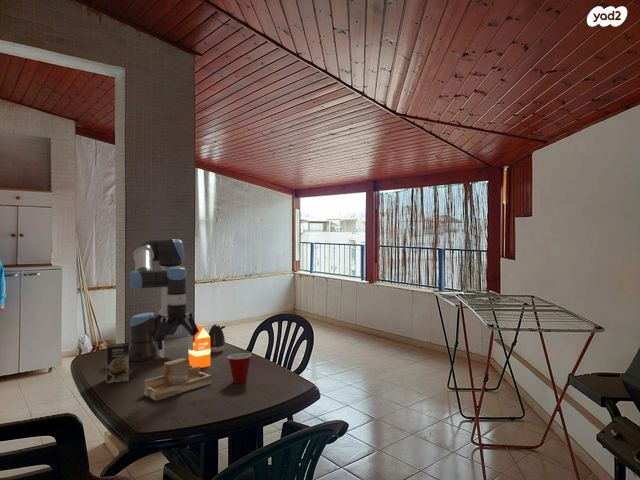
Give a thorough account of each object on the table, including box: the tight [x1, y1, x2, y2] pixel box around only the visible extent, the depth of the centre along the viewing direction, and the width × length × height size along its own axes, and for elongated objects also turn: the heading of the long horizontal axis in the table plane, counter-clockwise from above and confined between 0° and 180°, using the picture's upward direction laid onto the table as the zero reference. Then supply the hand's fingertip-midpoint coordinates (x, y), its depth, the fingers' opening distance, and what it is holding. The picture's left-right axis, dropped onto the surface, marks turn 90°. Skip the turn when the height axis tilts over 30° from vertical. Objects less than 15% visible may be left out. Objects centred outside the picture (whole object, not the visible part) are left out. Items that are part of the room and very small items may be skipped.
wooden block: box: [163, 357, 191, 387], centre depth 182 cm, size 5×9×10 cm, turn 140°
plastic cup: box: [226, 352, 252, 384], centre depth 193 cm, size 11×11×12 cm
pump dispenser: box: [208, 323, 226, 353], centre depth 242 cm, size 10×10×15 cm
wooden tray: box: [143, 366, 212, 401], centre depth 183 cm, size 9×26×7 cm, turn 140°
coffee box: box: [105, 342, 130, 384], centre depth 194 cm, size 9×6×16 cm
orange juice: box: [188, 324, 211, 369], centre depth 216 cm, size 8×9×20 cm
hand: (176, 353), depth 182 cm, fingers open, 13 cm apart
